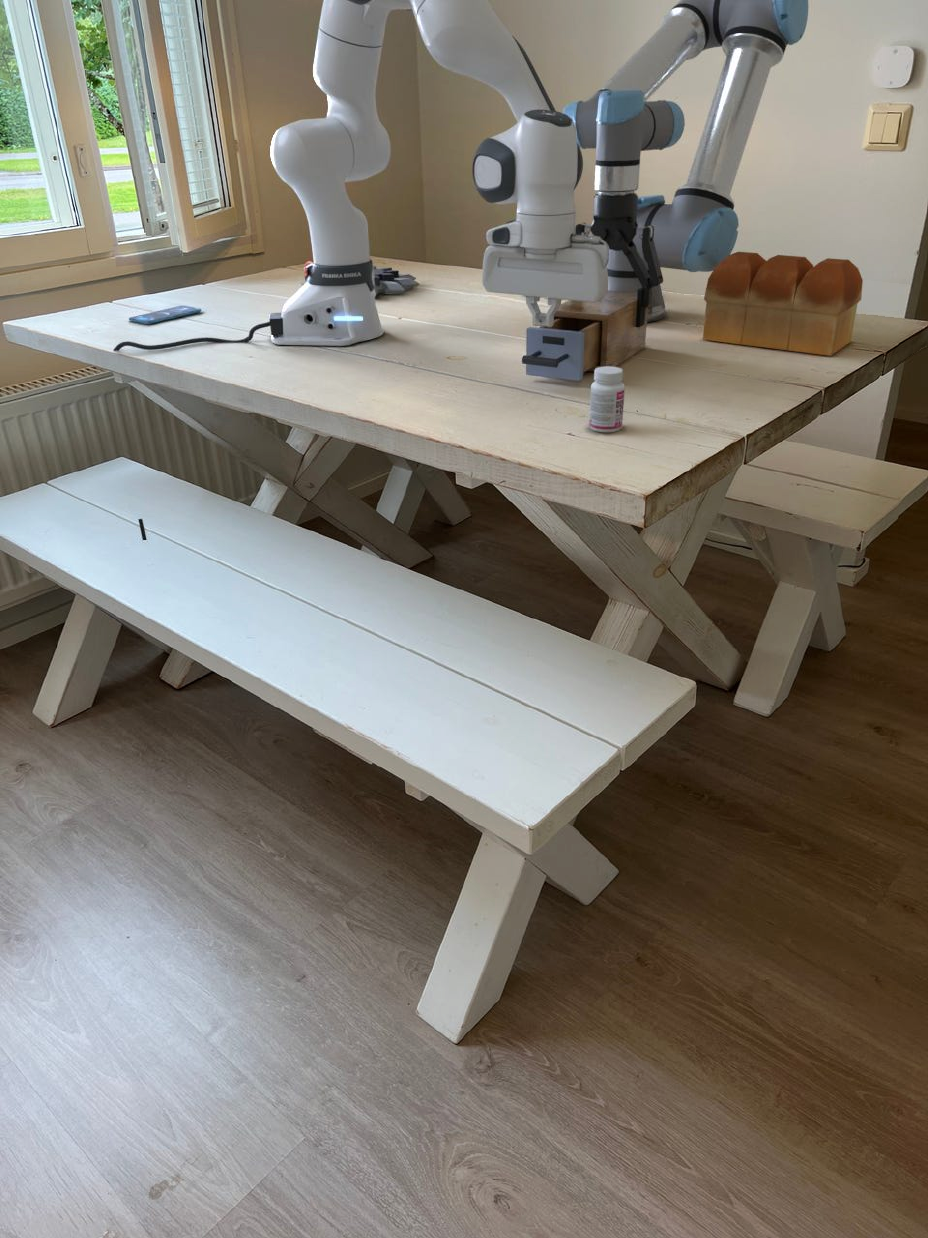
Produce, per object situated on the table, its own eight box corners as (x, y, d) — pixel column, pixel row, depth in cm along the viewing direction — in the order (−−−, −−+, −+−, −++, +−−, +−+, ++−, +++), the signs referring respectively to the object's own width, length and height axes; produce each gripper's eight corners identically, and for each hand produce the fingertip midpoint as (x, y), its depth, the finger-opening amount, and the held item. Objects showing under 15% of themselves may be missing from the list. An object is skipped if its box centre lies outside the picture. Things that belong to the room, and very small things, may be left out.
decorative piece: (407, 283, 215) (280, 284, 219) (408, 301, 217) (282, 301, 221) (429, 261, 241) (316, 261, 245) (430, 277, 243) (317, 277, 247)
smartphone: (126, 317, 208) (182, 304, 218) (127, 320, 208) (182, 307, 218) (147, 322, 204) (203, 308, 214) (147, 324, 204) (203, 311, 214)
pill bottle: (621, 433, 134) (625, 374, 130) (588, 432, 135) (590, 373, 131) (622, 422, 138) (626, 365, 134) (590, 422, 139) (592, 364, 135)
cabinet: (605, 373, 162) (608, 314, 157) (547, 366, 166) (548, 309, 162) (645, 347, 177) (649, 293, 172) (590, 341, 181) (592, 288, 177)
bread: (700, 339, 180) (707, 257, 172) (725, 326, 188) (734, 247, 181) (832, 356, 167) (847, 268, 159) (853, 341, 175) (868, 257, 168)
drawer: (565, 390, 150) (567, 341, 146) (510, 383, 154) (510, 335, 150) (620, 355, 168) (623, 310, 164) (570, 349, 172) (571, 306, 168)
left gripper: (617, 233, 140) (611, 328, 147) (496, 225, 149) (496, 315, 156) (601, 239, 135) (596, 337, 142) (477, 231, 144) (477, 323, 151)
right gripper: (689, 191, 160) (678, 324, 171) (562, 188, 170) (559, 313, 181) (675, 196, 154) (664, 333, 165) (544, 192, 164) (542, 321, 175)
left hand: (542, 325), depth 149 cm, fingers closed
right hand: (609, 322), depth 173 cm, fingers closed on cabinet, 11 cm apart
